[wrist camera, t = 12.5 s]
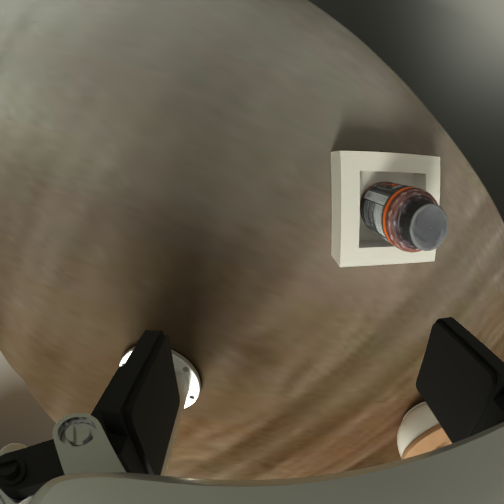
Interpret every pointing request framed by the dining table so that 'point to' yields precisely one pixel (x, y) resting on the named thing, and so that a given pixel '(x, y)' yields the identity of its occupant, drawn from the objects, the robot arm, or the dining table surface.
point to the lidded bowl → (420, 432)
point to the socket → (350, 193)
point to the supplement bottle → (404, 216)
